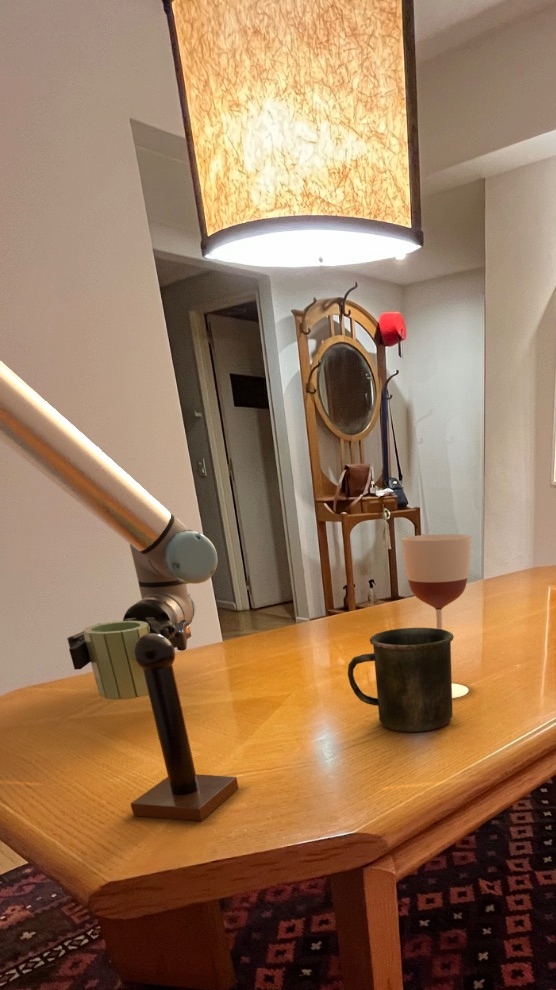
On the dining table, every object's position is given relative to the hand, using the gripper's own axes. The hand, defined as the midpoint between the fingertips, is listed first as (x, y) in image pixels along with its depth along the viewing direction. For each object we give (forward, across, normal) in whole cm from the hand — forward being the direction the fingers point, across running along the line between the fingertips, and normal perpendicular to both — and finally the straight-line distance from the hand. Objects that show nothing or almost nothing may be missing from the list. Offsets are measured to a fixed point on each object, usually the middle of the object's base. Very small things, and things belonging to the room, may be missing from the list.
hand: (110, 657), depth 88 cm
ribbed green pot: (-5, 0, -6) cm, 8 cm away
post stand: (+23, -12, -11) cm, 28 cm away
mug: (+3, -38, -11) cm, 40 cm away
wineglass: (-11, -45, -11) cm, 47 cm away
